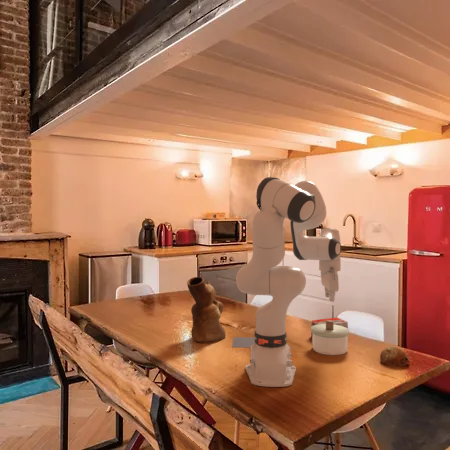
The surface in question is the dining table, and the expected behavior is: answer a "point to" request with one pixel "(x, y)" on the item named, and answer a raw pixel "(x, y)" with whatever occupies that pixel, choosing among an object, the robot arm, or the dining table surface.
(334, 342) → the bowl
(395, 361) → the brown rounded lump
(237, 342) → the mat
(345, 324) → the medicine box
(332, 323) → the lid
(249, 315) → the dining table surface
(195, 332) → the ceramic vessel
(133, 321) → the dining table surface
